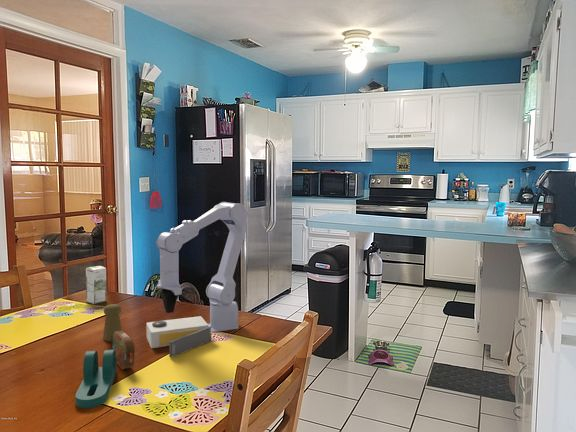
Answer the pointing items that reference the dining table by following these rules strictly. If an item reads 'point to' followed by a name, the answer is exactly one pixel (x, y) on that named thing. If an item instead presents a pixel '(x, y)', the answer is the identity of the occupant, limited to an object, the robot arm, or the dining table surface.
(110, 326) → the olive flared pepper mill
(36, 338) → the dining table surface
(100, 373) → the bracket
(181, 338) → the side door
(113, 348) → the brown rounded piece
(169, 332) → the camera housing
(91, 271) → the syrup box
